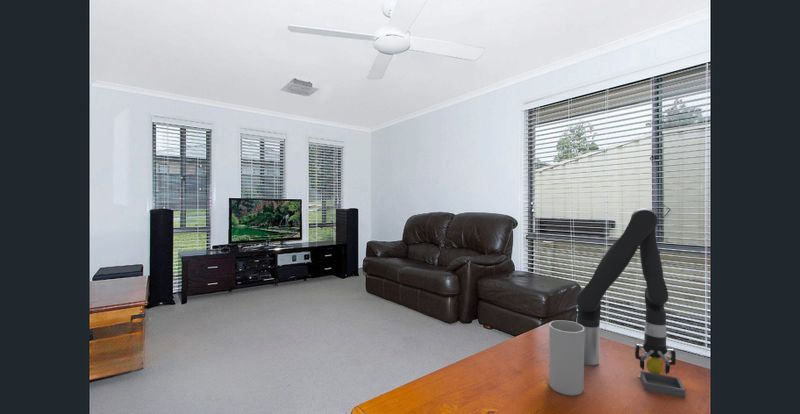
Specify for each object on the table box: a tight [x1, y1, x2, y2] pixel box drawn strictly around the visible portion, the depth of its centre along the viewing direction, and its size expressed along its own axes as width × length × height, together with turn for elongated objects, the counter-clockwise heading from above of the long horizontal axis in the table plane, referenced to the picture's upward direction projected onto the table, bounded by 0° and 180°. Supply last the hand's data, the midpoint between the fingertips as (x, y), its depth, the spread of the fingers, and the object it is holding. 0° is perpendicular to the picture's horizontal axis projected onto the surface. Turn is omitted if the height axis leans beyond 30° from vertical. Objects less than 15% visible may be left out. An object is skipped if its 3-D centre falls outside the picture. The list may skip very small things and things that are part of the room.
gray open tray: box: [639, 370, 686, 399], centre depth 146 cm, size 13×10×3 cm
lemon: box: [646, 356, 664, 375], centre depth 156 cm, size 6×6×8 cm
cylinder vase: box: [548, 320, 585, 397], centre depth 147 cm, size 12×12×25 cm
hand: (654, 371), depth 156 cm, fingers open, 7 cm apart
